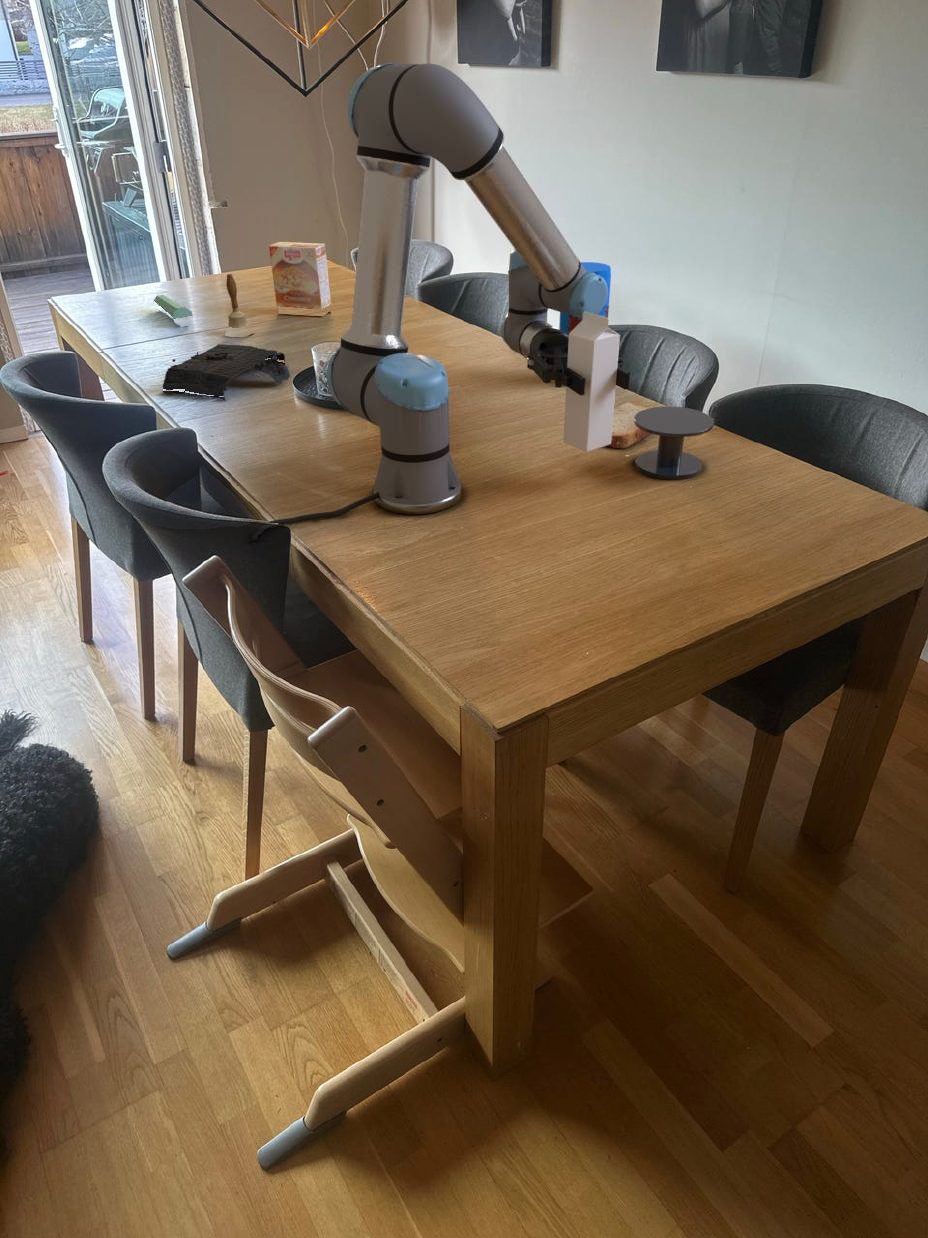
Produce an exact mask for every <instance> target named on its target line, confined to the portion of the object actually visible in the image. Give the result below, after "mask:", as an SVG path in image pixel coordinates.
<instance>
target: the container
mask: <svg viewBox="0 0 928 1238" xmlns="http://www.w3.org/2000/svg"><path fill="white" fill-rule="evenodd" d="M154 301H155V302H156V303H157V304H158V305H159V306H161V307H162V308H163V309H164V310H165V311H166V312H168V313H169V314H170V315H171V316H172V317H173V319H176V318H183V317H188V316H193V312H192V310H190V309H189V308H187V307H186V306H181V305H180V304H179V303H177V302H175V301H174V300H172V299H171V298H169V297H167V296H166V295H165V294H159V295H156V296H155V298H154V299H153V302H154Z"/></svg>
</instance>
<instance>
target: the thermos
mask: <svg viewBox="0 0 928 1238" xmlns="http://www.w3.org/2000/svg"><path fill="white" fill-rule="evenodd" d="M580 262H581V264H582V265H583V267H584V268H585V270H586V271H588V272H594V273H595V274H597V275H599V276H601V277H602V278H604V280H605V281H606V283H607V287H608V298H607V302H606V304H605V306H604V308H603V309H602V311H601V312H600V313H599V314H598V315H600V316H604V317H607V318H608V319H609V312H610V311H609V310H610V296H611V294H610V293H611V282H612V281H611V280H612V269H611V268H612V267H611V266H610V265H609V264H606V263H601V262H595V261H594V262H593V261H592V262H591V261H580ZM581 321H582V318H580V317H573V316H571V315H568V314H565V313H562V312H559V323H558V324H559V325H558V326H559V327H558V329H559V330H561V331H562V332H564V333H566V334H567V335H568V336H569V333H570V332H571V331H572V330H573V329H574V328H575V327H576V326H577V325H578V324H579V323H580V322H581ZM563 371H564V370H563Z"/></svg>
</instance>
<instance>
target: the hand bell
mask: <svg viewBox="0 0 928 1238" xmlns="http://www.w3.org/2000/svg"><path fill="white" fill-rule="evenodd" d="M225 282H226V283H225V285H226V291H227V294H228V295H229V297H230V302H231V308H232V312H231V313H229V314H228V324H227V327H228V326H229V327H232V328H242V327H247V326H248V325H249V322H248V321H247V318H246V314H245V313H244V312H242V311H240V308H239V304H238V299H237V298H238V297H237V296H238V288H237V287H238V286H237V283H236V281H235V278H234V276H233V274H232V273H228V274H226V281H225Z"/></svg>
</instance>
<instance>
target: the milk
mask: <svg viewBox="0 0 928 1238" xmlns="http://www.w3.org/2000/svg"><path fill="white" fill-rule="evenodd" d="M609 321H610V320H609V317H608V318H607V317H604V316H600V315H596V314H593V313H589V312H585V311H584V312H583V318H582V321H581V322H580V323H579V324H578V325H577V326H576V327H575V328H574V329H573V330H572V331H571V332H570V333H569V343H568V363H567V368H570V369H571V370H573V371H574V372H576V373H578V374H579V375H581V376H582V377H584V378H585V393H584V395H579V394H577V393H576V392H574V391H573V390H572V389H570V388H569V387H567V386H565V401H564V402H565V403H564V423H563V443H564V444H567V445H569V446H572V447H574V448H576V449H578V450H581V451H583V452H586V453H587V452H591V451H594V450H597V449H600V448H603V447H607V445H610V444H611V438H612V426H613V414H614V407H615V401H616V388H617V385H616V378H617V366H618V357H619V354H620V353H619V352H620V341H621V334H619V333H618V332H616V331H615V330H613V329H611V328H610V327H609V323H610V322H609Z"/></svg>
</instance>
